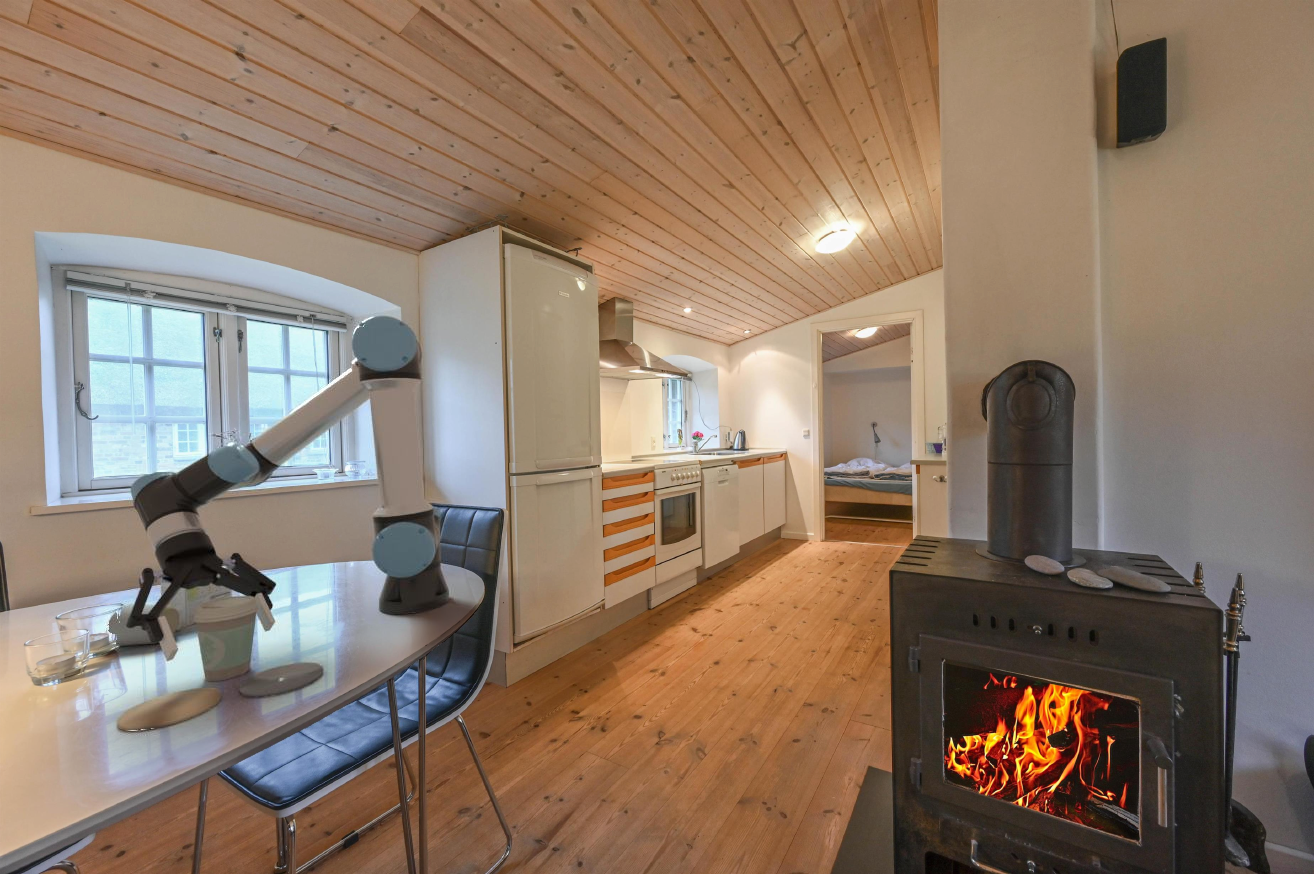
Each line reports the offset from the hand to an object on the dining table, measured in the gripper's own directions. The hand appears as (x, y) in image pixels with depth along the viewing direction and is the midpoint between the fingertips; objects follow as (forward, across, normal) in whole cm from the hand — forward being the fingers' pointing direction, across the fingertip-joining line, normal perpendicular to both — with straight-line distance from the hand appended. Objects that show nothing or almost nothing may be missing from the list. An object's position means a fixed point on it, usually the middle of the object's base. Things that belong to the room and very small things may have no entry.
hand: (225, 640), depth 87 cm
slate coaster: (+12, -3, +4) cm, 13 cm away
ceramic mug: (-19, -1, -28) cm, 34 cm away
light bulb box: (-24, -12, -33) cm, 43 cm away
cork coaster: (+9, +9, +1) cm, 13 cm away
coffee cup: (+4, 0, -4) cm, 6 cm away
